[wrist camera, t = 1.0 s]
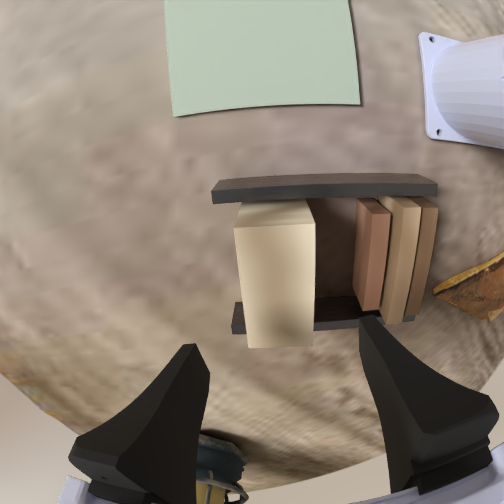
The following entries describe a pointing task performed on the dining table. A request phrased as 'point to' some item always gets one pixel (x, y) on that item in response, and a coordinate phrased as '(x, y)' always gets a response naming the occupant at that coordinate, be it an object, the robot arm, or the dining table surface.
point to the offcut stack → (393, 254)
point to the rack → (319, 186)
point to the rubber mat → (259, 54)
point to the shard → (477, 289)
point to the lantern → (218, 471)
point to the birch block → (277, 271)
